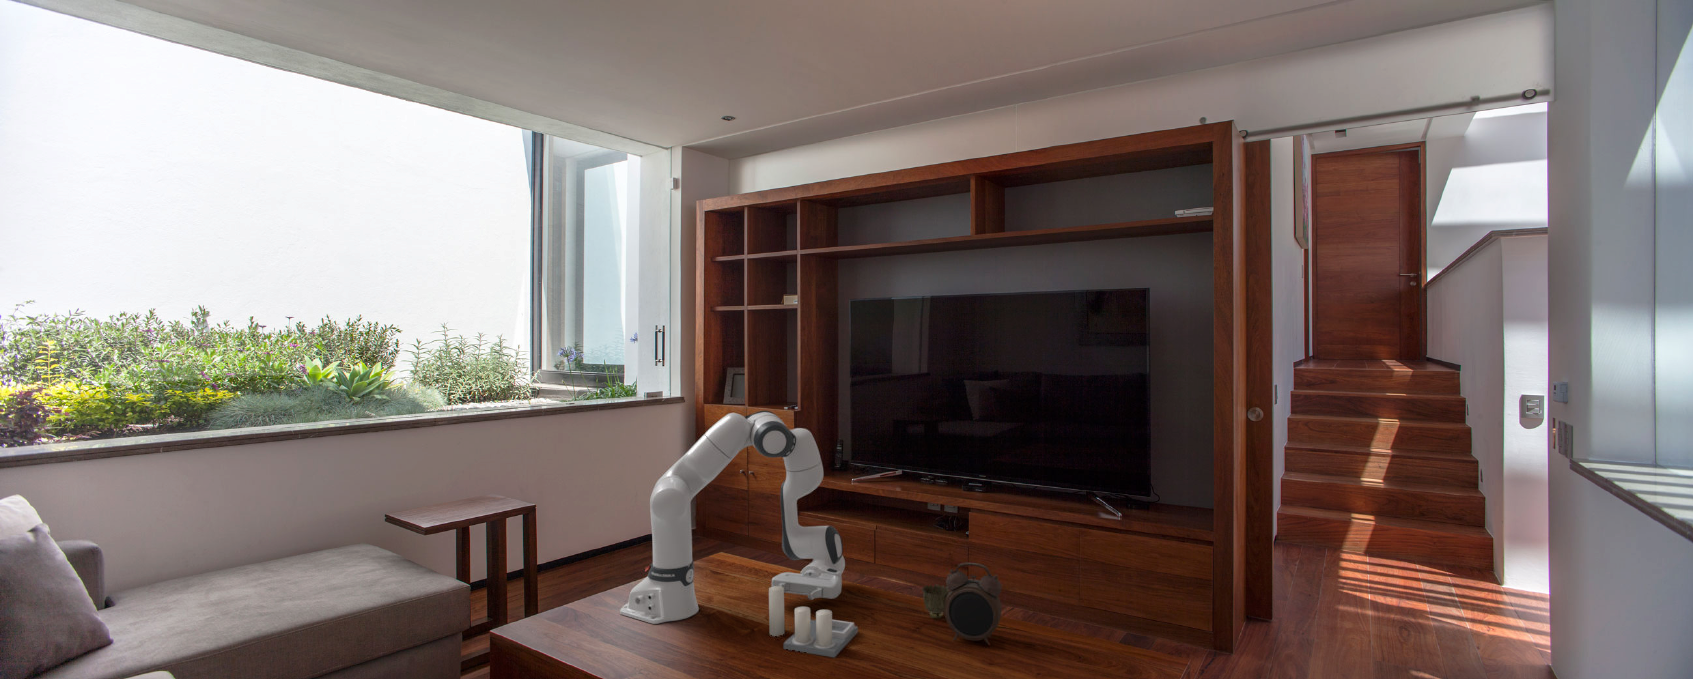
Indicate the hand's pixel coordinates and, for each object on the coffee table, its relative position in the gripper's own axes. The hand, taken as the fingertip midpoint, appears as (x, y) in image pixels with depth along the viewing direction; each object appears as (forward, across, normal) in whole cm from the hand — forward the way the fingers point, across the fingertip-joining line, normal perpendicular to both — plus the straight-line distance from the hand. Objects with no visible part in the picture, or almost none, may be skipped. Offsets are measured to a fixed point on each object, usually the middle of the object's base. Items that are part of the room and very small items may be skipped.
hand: (794, 594), depth 204 cm
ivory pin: (+11, 0, +7) cm, 13 cm away
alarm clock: (-2, +50, +7) cm, 51 cm away
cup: (-14, +37, +7) cm, 40 cm away
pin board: (+11, +13, +6) cm, 18 cm away
